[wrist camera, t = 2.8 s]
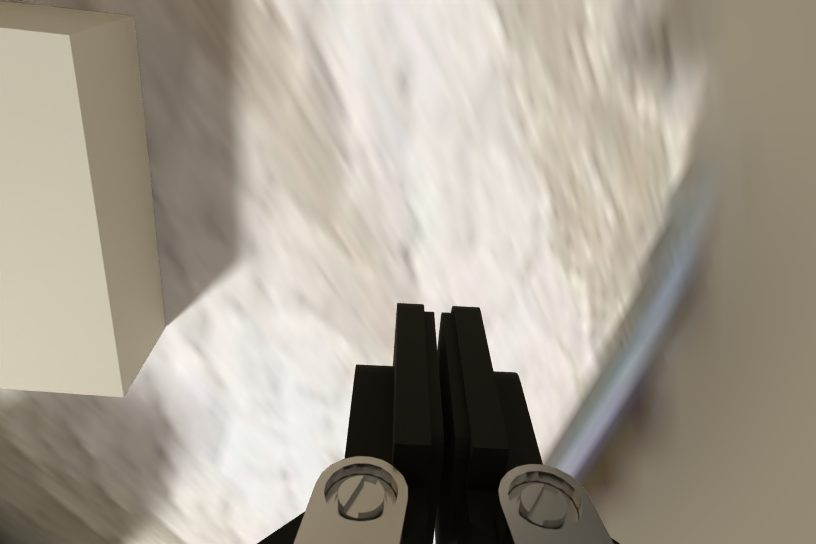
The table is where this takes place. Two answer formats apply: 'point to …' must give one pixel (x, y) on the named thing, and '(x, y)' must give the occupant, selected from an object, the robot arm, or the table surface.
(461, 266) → the table surface
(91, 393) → the beige flat square block
